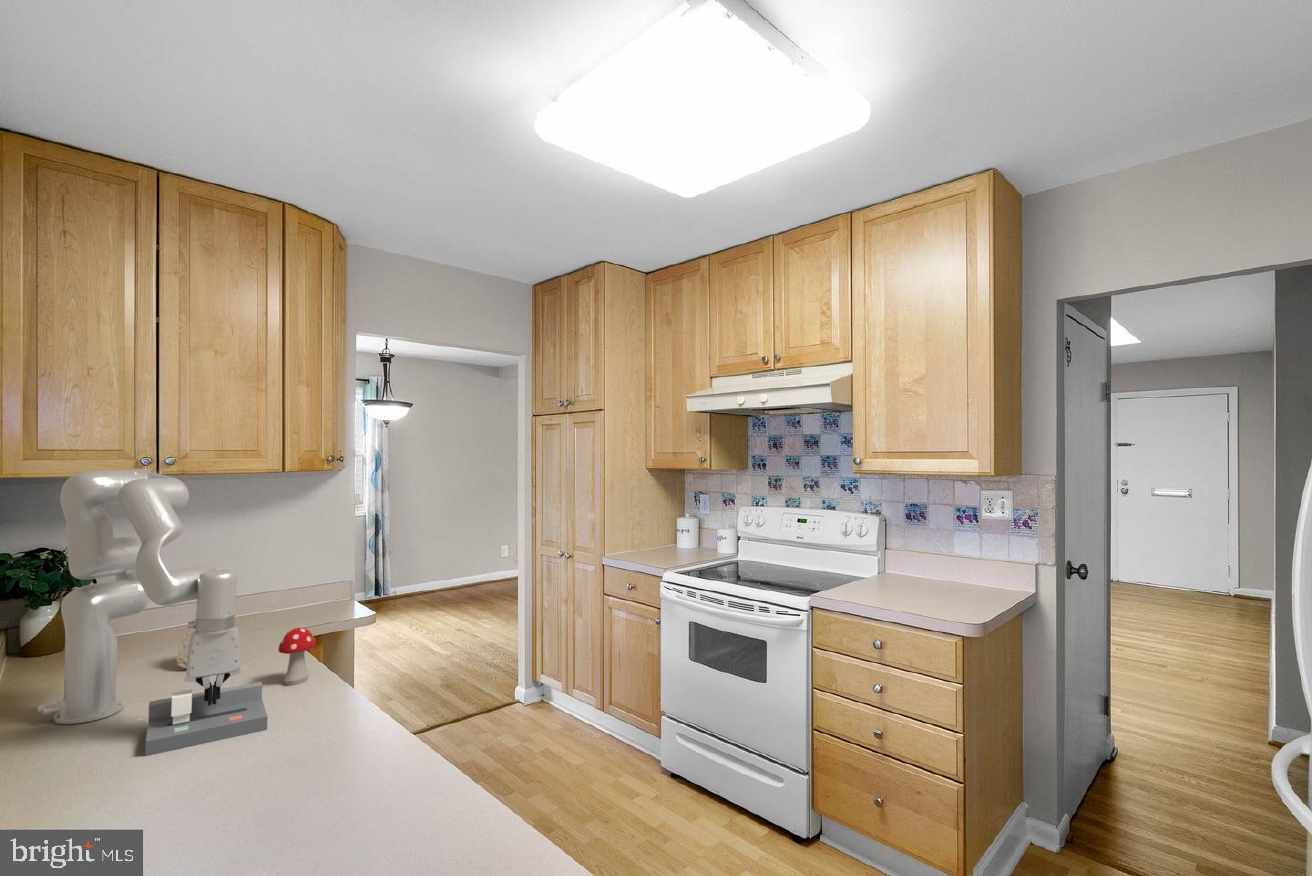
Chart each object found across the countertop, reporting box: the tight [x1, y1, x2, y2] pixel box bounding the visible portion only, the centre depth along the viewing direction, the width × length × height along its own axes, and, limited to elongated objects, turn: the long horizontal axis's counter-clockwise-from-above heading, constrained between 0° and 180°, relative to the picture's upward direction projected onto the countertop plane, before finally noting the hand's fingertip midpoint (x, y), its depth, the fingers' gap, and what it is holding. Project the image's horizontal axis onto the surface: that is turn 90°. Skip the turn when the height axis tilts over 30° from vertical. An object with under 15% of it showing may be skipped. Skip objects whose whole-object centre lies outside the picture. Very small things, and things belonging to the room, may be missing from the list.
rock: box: [174, 628, 196, 670], centre depth 190 cm, size 15×8×15 cm
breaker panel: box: [144, 681, 268, 757], centre depth 146 cm, size 22×16×6 cm
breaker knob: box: [171, 689, 193, 724], centre depth 143 cm, size 4×4×6 cm
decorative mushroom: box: [277, 627, 317, 686], centre depth 177 cm, size 10×9×15 cm
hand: (211, 702), depth 146 cm, fingers closed
